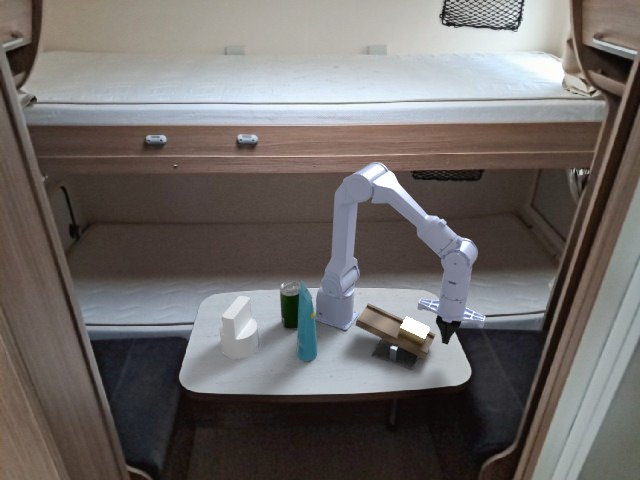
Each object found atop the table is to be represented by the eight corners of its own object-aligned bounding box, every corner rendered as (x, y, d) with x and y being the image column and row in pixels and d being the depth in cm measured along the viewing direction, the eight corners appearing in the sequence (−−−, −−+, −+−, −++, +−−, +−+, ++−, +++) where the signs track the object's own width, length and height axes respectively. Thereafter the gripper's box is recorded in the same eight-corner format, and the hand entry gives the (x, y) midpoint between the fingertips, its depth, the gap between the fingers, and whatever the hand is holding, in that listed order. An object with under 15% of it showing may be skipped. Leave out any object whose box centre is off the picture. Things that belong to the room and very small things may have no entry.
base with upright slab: (233, 330, 121) (228, 292, 115) (265, 338, 118) (262, 299, 112) (215, 353, 113) (209, 314, 108) (248, 362, 111) (244, 322, 105)
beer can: (288, 333, 120) (286, 295, 114) (277, 322, 124) (275, 284, 118) (306, 326, 122) (305, 288, 117) (295, 315, 126) (294, 278, 121)
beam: (353, 328, 115) (355, 320, 113) (366, 309, 121) (369, 301, 120) (423, 362, 109) (426, 354, 108) (432, 340, 116) (436, 333, 114)
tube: (322, 361, 111) (322, 294, 102) (304, 367, 109) (302, 300, 100) (309, 342, 117) (308, 277, 108) (291, 347, 115) (289, 282, 106)
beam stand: (371, 356, 113) (372, 343, 111) (390, 324, 123) (391, 313, 121) (412, 369, 109) (413, 357, 107) (427, 336, 119) (429, 324, 117)
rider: (397, 336, 112) (400, 327, 110) (403, 325, 115) (406, 316, 114) (421, 347, 110) (424, 338, 108) (426, 336, 114) (429, 327, 112)
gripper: (416, 293, 102) (410, 341, 109) (484, 312, 96) (474, 362, 103) (425, 277, 107) (419, 324, 114) (490, 294, 102) (480, 342, 108)
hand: (445, 341), depth 109 cm, fingers closed
